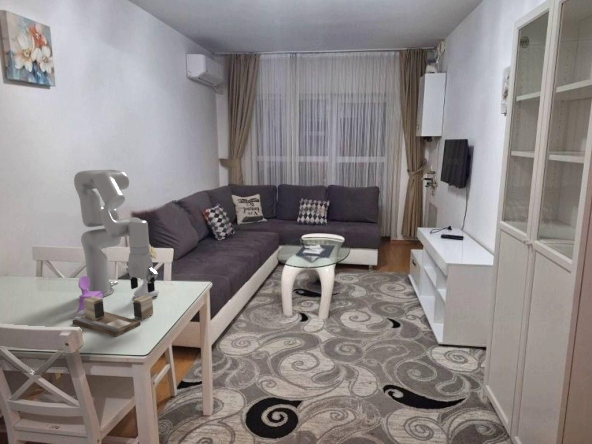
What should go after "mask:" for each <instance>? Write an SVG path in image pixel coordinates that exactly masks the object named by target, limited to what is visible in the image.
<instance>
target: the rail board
mask: <svg viewBox="0 0 592 444" xmlns="http://www.w3.org/2000/svg"><path fill="white" fill-rule="evenodd" d="M83 301H84V308H83V310H84V311H83V312H84V315H83V316H80V315H78V316H77V315H76V316H75V317H74V319H72V324H73V325H75V326H80V327H83V328H85V329H89V330H91V331H95V332H98V333H101V334H105V335H108V336H111V337H114V338H116V337H118V336H121V335H122V334H124V333H127V332H128V331H130V330H133V329H135V328H137V327H139V326H141V321H140V320H136V319H133V318H129V317H126V316H122V315H118V314H116V313H112V312H107V311H105V310H104V309H105V307H104V298H103V299H102V298H99V297H95V296H92V297H89V298H86V299H83ZM138 325H139V326H138ZM136 326H137V327H136ZM134 327H135V328H134Z"/></svg>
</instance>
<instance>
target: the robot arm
mask: <svg viewBox="0 0 592 444" xmlns="http://www.w3.org/2000/svg"><path fill="white" fill-rule="evenodd" d="M73 184H74V188H75V191H76V193H77V195H78V198H79V203H80V213H81V218H82V223H83V226H85V227H87V228H95V227H96V229H91V230H87V231H84V232H83V233H82V235H81V237H80V241H81V245H82V249H83V254H84V259H85V269H86V272H85V273H86V276H87V277H89V279H90V286H89V287H88V289H87V290H88V291H101V293H102V295H103V298H104V297H106V296H110V295H112V294H113V293H114V288H113V287H114V286H117V285H118V284H119V282H118V281H117V280H115V281H110V275H109V274H110V273H109V262H108V261H109V260H108V257H107V254H105V253H104V252H103V251H102V249H107V248H112V247H117V246H118V245H120V244H121V240H122V238H125V237H128V240H129V241H128V242H129V253H128V259H127V260H128V267H126V268H125V271H126V274H127V276H128V278H129V280H130V281H129V282H130V288H131V290H134V289H138V288H139V282H138V279H141V280H143V279H145V278H146V280H147V281H148V283H147V287H148V292H149V293H150V292H152V291H155V283H156V280H157V279H158V275H159V274H158V272H157V271H156V270H155V269H154V265H153V258H152V257H151V254H150V249H149V244H150V237H149V223H148V221H147V220H145V219H140V218H139V217H135V216H134V217H126V218H120V215H119V212H118V210H117V209H118V208H119V207H121V206H122V205H123V204H124V203H125V202H126V201H125V200H126V198H125V197H126V196H125V195H124V194H123V191H122V190H127V189H128V188H129V185H130V179H129V177H128V175H127V174H126V172H124V171H122V170H116V169H90V170H88V169H87V170H81V171H78V172H76V174H75V175H74V176H73ZM95 189H96V190H97V191H96V190H95ZM100 197H101V198H100ZM101 200H102V202H103V203H104V205H102V204H101ZM97 227H103V228H97Z"/></svg>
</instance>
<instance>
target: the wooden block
mask: <svg viewBox="0 0 592 444" xmlns="http://www.w3.org/2000/svg"><path fill="white" fill-rule="evenodd" d="M132 304H133V306H132V307H133V316H134V318H135V317H136V318H135V319H138V318H140V319H139V320H141V319H143V320H145V319H147V318H149V317H151V316H153V315H154V304H153V297H150V296H146V295H144V296H142V297H139V298H137V297H136V298H134V299H133V303H132ZM152 314H153V315H152ZM150 315H151V316H150ZM148 316H149V317H148ZM146 317H147V318H146ZM144 318H145V319H144Z"/></svg>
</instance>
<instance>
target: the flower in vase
mask: <svg viewBox="0 0 592 444" xmlns="http://www.w3.org/2000/svg"><path fill="white" fill-rule="evenodd" d="M149 249H150V254H151V258H152V259H154V260H156V259H157V257H158V255H157V251H156V250H155V248H154V246H151V244H150V243H149ZM142 280H143V281H142V284H141V286H138V287H137V288H136V290H134V293H133V296H134V297H135V298H136V299H137V298H139V297H142V296H144V295H146V296H150V297H152V298H154V297H155V296H156V297H157V296H158V295H159V293H160V290H159V289H158V288H157V287H155V291H152V292H150V293H149V292H148V287H147V283H148V281H147V280H146V278H145V279H142Z"/></svg>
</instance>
